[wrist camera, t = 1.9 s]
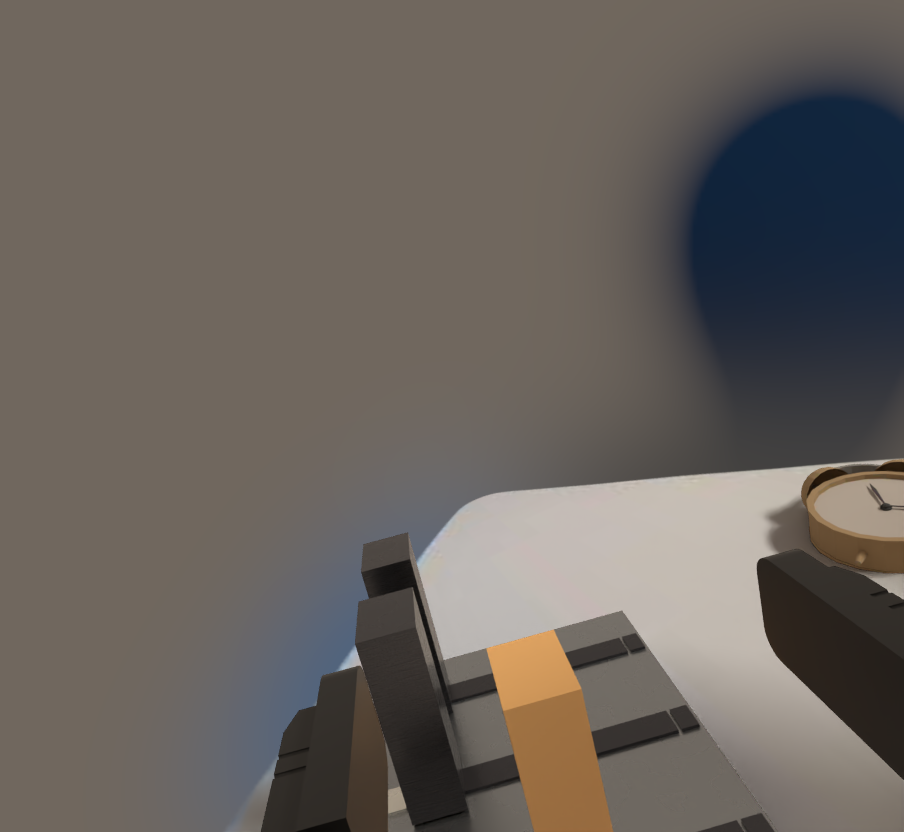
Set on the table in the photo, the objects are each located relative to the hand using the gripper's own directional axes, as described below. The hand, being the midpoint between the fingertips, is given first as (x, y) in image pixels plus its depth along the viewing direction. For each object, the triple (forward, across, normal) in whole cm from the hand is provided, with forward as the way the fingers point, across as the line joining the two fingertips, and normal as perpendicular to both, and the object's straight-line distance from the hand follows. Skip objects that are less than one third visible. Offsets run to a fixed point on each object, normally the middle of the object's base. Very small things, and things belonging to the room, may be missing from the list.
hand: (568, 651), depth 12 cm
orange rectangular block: (+11, 0, +19) cm, 22 cm away
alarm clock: (+36, -34, +22) cm, 54 cm away
